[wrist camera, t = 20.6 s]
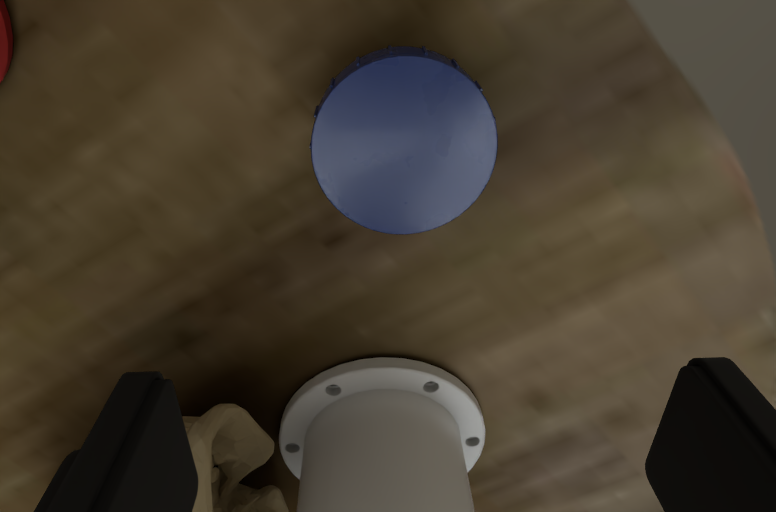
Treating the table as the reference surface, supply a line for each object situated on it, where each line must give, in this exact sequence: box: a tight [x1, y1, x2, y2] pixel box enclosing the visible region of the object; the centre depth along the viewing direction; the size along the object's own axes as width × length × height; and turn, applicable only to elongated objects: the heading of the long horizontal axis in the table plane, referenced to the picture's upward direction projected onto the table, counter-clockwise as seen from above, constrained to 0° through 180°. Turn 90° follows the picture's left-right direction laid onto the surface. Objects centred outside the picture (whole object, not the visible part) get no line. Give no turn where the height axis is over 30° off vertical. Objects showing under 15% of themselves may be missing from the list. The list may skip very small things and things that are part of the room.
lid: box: [310, 45, 498, 234], centre depth 20 cm, size 7×7×2 cm
